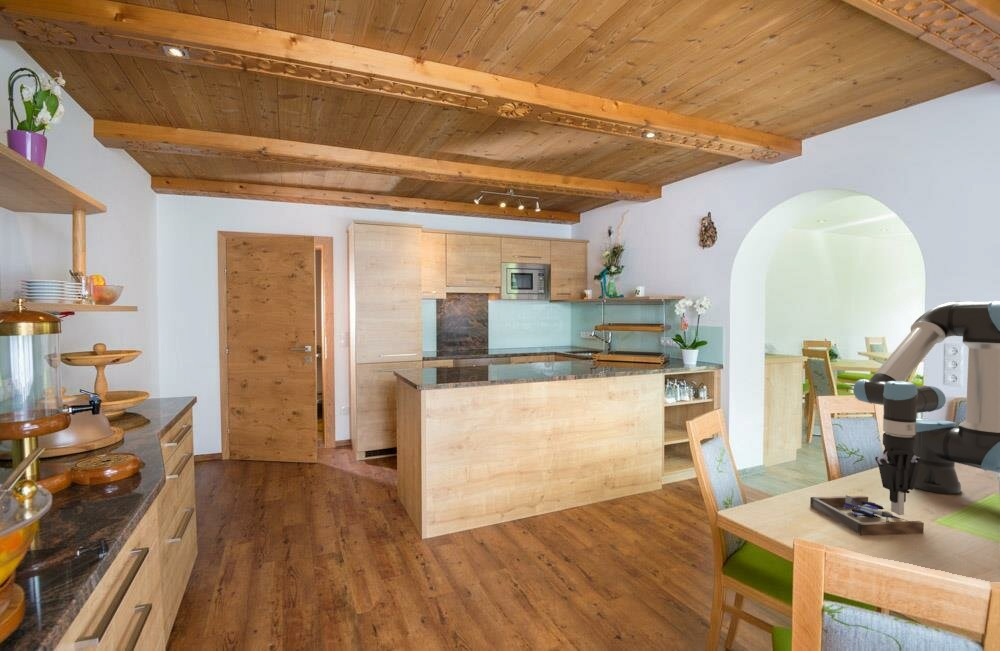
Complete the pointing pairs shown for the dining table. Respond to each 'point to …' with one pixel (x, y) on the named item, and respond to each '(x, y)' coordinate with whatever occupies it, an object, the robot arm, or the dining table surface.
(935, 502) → the dining table surface
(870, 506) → the toy airplane
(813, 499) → the frame
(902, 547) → the dining table surface
